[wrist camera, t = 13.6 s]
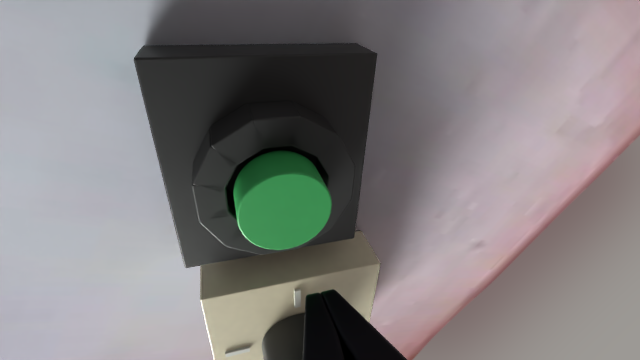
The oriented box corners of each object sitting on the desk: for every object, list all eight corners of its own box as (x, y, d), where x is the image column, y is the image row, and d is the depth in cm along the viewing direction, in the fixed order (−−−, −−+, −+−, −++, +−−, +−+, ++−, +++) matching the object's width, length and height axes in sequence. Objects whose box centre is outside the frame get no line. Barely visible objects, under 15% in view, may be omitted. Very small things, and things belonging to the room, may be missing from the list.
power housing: (142, 45, 13) (122, 71, 10) (357, 42, 15) (399, 63, 12) (186, 239, 18) (183, 298, 15) (341, 215, 21) (367, 261, 17)
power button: (228, 154, 12) (232, 178, 11) (321, 145, 13) (335, 166, 12) (237, 228, 14) (241, 257, 13) (318, 216, 15) (329, 242, 14)
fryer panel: (200, 257, 19) (200, 302, 17) (361, 230, 22) (382, 265, 19) (220, 356, 24) (222, 401, 22) (348, 324, 27) (363, 361, 25)
